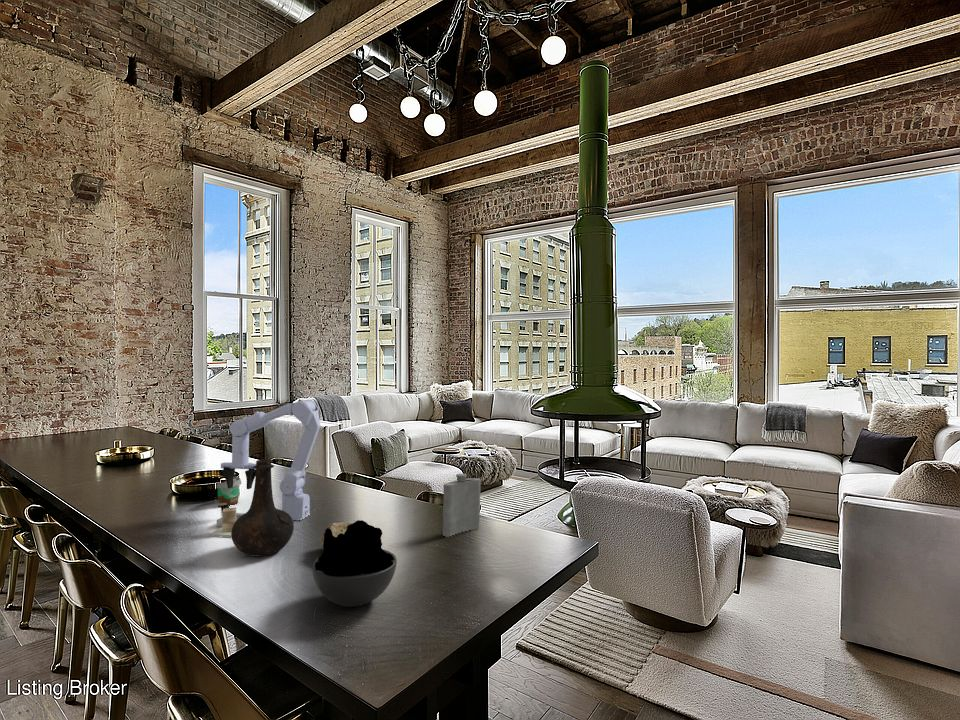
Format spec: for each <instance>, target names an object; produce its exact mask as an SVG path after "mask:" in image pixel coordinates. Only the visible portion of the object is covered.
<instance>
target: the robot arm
mask: <svg viewBox="0 0 960 720" xmlns="http://www.w3.org/2000/svg"><path fill="white" fill-rule="evenodd" d="M319 409H320V408H319V407H318V405H317V404H316V402H315V401H313V399H305V400H299V401H295V402H292V403H288V404H285V405H282V406H279V407H278V408H275V409H273V410H271V411H268V412H264V411H254V412H253V414H252V415H248V416H243V417H242V419H239V420H234V422H232V423H231V424H230V426H229V432H230V434H231V435H232V440H231V447H232V448H231V462H222V463H220V469H221V470H220V471H221V474H222V475H223V477H224V479H225V481H226V482H227V486H228V488H232V487H233V477H235V471H236V470H244V474H245V478H246V490H250V489H252V487H253V484H254V482H255V477H256V468H253V467H254V466H256V463H254V462H253V463H252V462H250V461H249V459H250V452H249V450H250V434H251V433H252V432H254V431H257V430H259V429H263V428H265V427H267V426H268V424H269V422H271V421H273V420H275V419H278V418H281V417H285V416H287V415H288V416H294V417H295V418H296V420H298V421H299V422H301V424H302V425H303V428H304V429H303V432H302V436H301V437H300V440H299V443H298V446H297V448H296V451H295V455H294V457H293V459H292V463H291V466H290V468H289V470H288V471H287V473H286V474H285V476H284V478H283V479H282V480H281V481H280V483H279V491H280V492H281V493H282V496H281V498H282V500H281V510H283V511H285V512H286V513H288V514H289V515H290V516H291V518H292V520H293V521H299V520H300V521H303V520H304V519H305V517H306V518H307V517H309V516H310V515H311V513H310V512H311V511H310V508H311V506H310V502H311V498H310V495H309V494H307V493H304V492H303V487H304V486H305V483H306V474H307V472H306V468H307V465H308V461H309V459H310V457H311V454H312V451H313V448H314V445H315V442H316V440H317V437H318V434H319V432H320V429H321V420H320V415H319V414H320V413H319ZM308 515H309V516H308ZM302 519H303V520H302Z"/></svg>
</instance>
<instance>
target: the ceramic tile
mask: <svg viewBox="0 0 960 720" xmlns="http://www.w3.org/2000/svg"><path fill="white" fill-rule="evenodd" d="M215 536H222V537H221V538H231V532H225V533H222V527H218V528H217V529H216V530H213V531H212V532H209V533H208V537H215Z"/></svg>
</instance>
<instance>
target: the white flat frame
mask: <svg viewBox="0 0 960 720" xmlns="http://www.w3.org/2000/svg"><path fill="white" fill-rule="evenodd" d="M245 513H246V512H245ZM245 513H244V512H236V520H237V519H238V518H239V517H240V516H242V515H243V514H245ZM215 525H216V526H215V527H216V528H221V527H222V517H220V518H218V519H216V524H215Z"/></svg>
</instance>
